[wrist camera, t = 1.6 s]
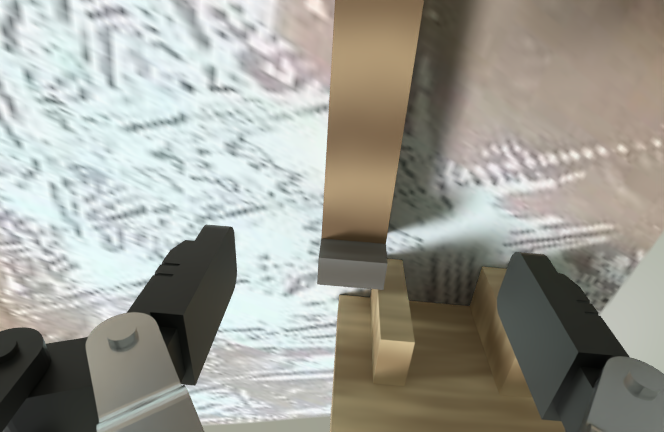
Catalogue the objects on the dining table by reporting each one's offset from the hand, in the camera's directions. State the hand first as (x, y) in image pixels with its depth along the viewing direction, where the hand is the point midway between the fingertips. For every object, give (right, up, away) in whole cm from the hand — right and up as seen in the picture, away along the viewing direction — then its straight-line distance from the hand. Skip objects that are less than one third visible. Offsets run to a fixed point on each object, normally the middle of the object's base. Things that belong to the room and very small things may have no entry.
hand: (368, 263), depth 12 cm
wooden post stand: (+7, -5, +20) cm, 22 cm away
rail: (+1, +8, +13) cm, 15 cm away
